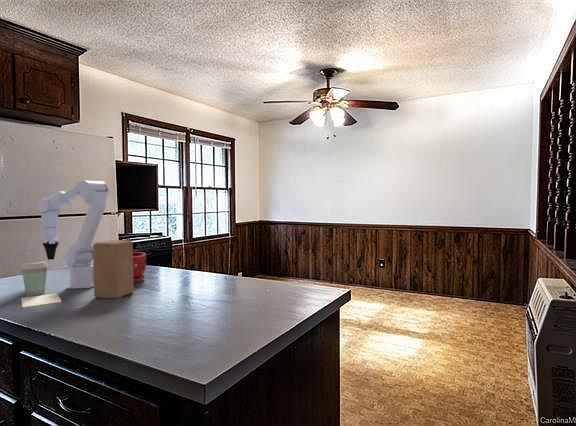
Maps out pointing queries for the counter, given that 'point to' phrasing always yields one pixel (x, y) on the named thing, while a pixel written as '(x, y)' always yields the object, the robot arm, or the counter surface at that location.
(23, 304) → the mat
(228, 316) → the counter surface
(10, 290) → the counter surface
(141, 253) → the plant pot
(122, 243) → the wooden block
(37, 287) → the coffee cup
